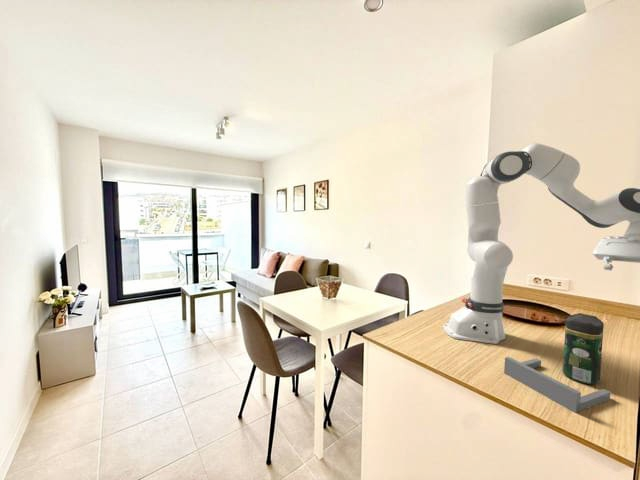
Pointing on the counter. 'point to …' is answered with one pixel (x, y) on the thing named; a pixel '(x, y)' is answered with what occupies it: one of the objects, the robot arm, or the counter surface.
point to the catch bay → (552, 385)
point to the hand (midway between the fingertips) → (626, 271)
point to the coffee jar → (583, 348)
